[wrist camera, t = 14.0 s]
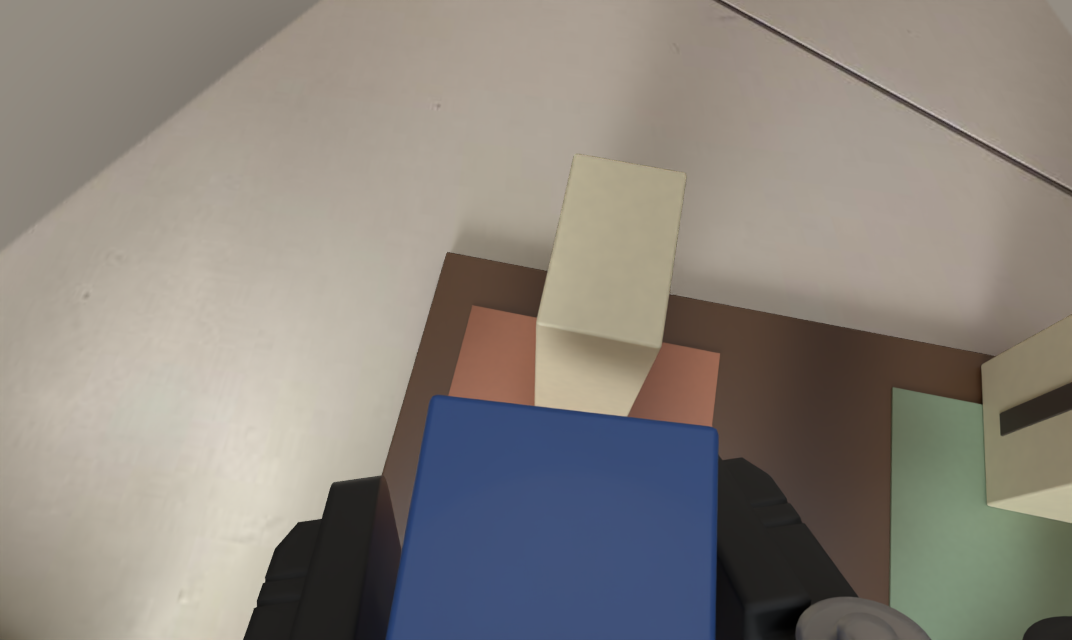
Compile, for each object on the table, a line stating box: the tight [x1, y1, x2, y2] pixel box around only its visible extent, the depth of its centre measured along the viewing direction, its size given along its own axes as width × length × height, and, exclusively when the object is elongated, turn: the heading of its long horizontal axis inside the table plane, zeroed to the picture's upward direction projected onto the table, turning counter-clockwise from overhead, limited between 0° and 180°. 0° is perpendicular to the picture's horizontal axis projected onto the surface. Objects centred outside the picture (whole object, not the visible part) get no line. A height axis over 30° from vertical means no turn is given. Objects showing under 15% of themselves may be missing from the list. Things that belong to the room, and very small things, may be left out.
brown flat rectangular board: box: [382, 252, 1072, 640], centre depth 22 cm, size 26×20×1 cm
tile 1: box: [534, 154, 687, 417], centre depth 21 cm, size 3×5×8 cm, turn 168°
